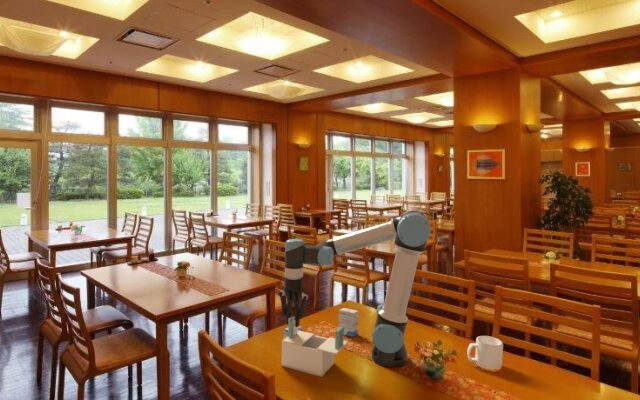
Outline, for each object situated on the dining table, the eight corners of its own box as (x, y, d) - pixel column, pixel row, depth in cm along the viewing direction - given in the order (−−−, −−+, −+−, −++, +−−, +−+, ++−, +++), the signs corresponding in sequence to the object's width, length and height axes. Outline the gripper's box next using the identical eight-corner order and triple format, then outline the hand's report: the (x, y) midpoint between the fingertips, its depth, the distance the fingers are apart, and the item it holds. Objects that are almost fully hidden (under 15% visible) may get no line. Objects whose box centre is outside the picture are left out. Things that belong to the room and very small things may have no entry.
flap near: (348, 342, 159) (348, 324, 159) (336, 354, 148) (337, 335, 148) (329, 338, 163) (329, 320, 162) (316, 350, 152) (317, 330, 151)
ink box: (358, 334, 193) (359, 310, 192) (353, 337, 189) (354, 313, 188) (343, 330, 197) (343, 306, 197) (338, 333, 193) (338, 309, 192)
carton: (334, 363, 162) (334, 339, 162) (321, 376, 152) (322, 351, 151) (295, 354, 170) (296, 331, 169) (281, 366, 159) (281, 342, 159)
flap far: (314, 335, 166) (314, 317, 165) (300, 346, 155) (300, 327, 154) (296, 331, 169) (297, 314, 169) (282, 342, 158) (282, 323, 158)
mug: (472, 371, 159) (473, 345, 158) (463, 359, 169) (464, 335, 168) (506, 372, 158) (507, 346, 158) (495, 360, 169) (496, 336, 168)
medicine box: (294, 342, 182) (295, 323, 182) (302, 345, 179) (302, 326, 179) (282, 347, 176) (283, 328, 175) (290, 350, 173) (290, 331, 173)
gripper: (313, 277, 162) (312, 333, 163) (283, 272, 168) (282, 326, 170) (305, 281, 155) (304, 340, 157) (273, 276, 161) (273, 333, 163)
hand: (292, 333), depth 163 cm, fingers closed on flap far, 1 cm apart
